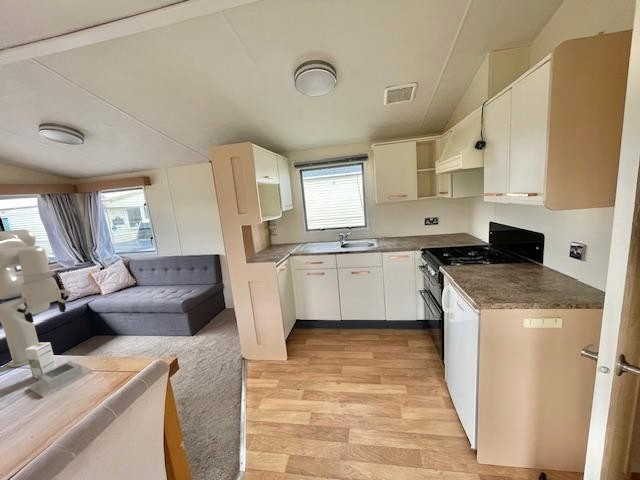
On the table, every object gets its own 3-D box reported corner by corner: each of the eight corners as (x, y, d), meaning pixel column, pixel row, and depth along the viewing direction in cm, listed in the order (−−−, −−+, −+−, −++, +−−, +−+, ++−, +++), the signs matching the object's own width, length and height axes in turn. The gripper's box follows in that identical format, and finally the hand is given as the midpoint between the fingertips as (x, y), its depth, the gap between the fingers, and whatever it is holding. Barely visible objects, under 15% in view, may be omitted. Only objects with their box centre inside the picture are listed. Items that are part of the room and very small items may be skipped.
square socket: (28, 388, 106) (26, 378, 106) (77, 365, 120) (75, 356, 120) (42, 397, 100) (40, 387, 100) (92, 372, 114) (90, 363, 114)
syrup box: (58, 370, 118) (51, 341, 115) (43, 379, 112) (35, 349, 110) (47, 370, 118) (40, 341, 116) (32, 379, 113) (24, 349, 110)
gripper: (61, 271, 113) (69, 307, 116) (1, 283, 97) (13, 325, 100) (69, 272, 110) (78, 309, 112) (9, 285, 94) (20, 328, 97)
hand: (47, 316), depth 106 cm, fingers open, 9 cm apart
